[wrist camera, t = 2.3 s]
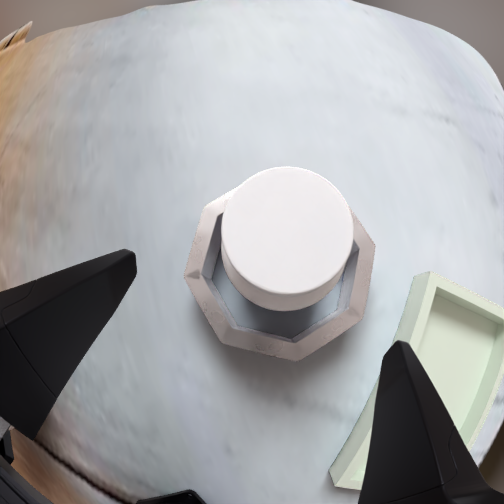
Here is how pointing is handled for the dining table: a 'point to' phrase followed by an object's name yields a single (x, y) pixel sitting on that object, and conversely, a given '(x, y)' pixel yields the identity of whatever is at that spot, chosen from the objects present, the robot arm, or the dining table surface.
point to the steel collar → (265, 343)
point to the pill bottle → (286, 238)
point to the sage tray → (440, 363)
